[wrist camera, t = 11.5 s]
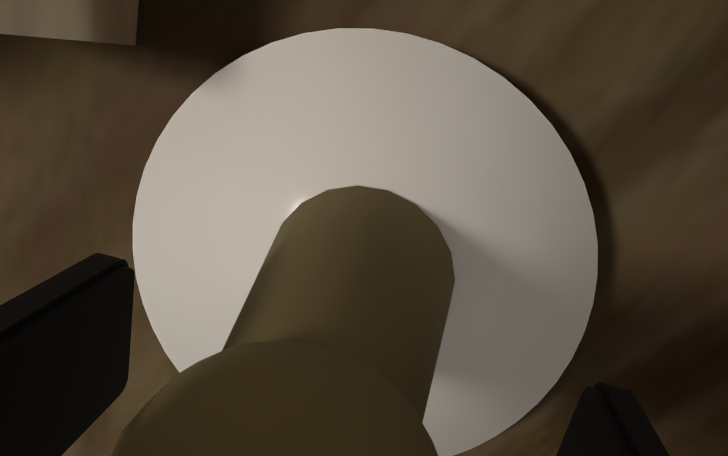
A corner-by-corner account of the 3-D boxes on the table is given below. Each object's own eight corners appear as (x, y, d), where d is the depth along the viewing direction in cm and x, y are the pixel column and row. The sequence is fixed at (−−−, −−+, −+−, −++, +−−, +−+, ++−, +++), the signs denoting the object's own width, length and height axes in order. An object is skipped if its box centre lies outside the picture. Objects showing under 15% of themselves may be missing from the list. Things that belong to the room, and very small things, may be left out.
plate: (658, 90, 15) (677, 92, 14) (509, 487, 20) (514, 513, 19) (170, -16, 16) (150, -23, 15) (136, 390, 20) (119, 409, 19)
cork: (250, 326, 18) (-13, 701, 7) (293, 159, 16) (18, 343, 5) (418, 383, 17) (397, 851, 7) (483, 221, 16) (586, 539, 5)
